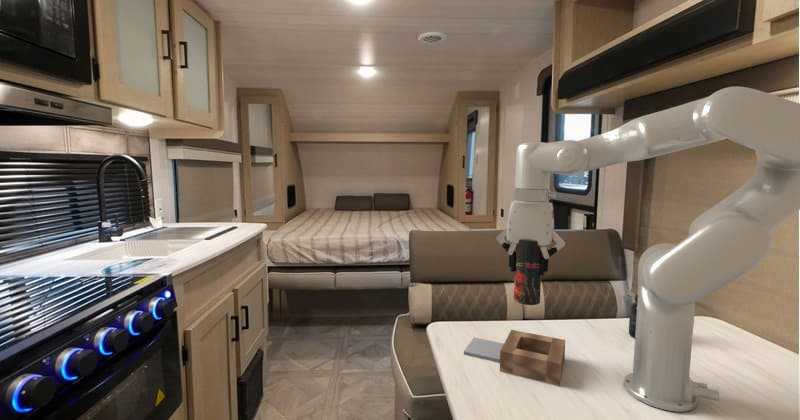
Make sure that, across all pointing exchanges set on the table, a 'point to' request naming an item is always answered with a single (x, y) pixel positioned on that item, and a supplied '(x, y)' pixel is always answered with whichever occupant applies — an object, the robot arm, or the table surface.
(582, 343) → the table surface
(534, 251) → the deodorant
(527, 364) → the socket block
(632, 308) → the supplement bottle
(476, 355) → the rubber mat
